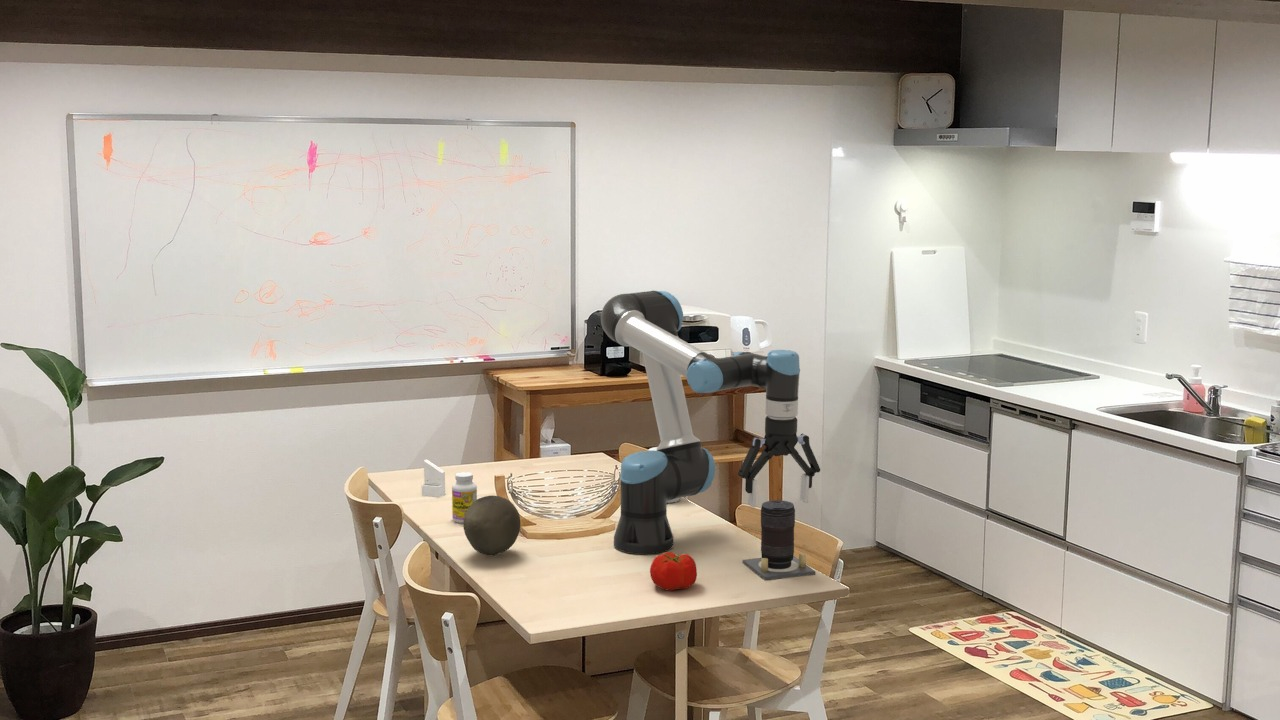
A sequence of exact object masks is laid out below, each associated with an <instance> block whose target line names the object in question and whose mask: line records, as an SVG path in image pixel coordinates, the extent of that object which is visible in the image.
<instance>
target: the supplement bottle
mask: <svg viewBox="0 0 1280 720" xmlns="http://www.w3.org/2000/svg"><path fill="white" fill-rule="evenodd" d="M454 477H455V480H456V481H455V482H454V483H453V484H452V487H451V497H452V498H451V501H452V502H451V504H452V505H451V508H452V511H451V512H452V514H451V515H452V521H454V522H455V523H458V524H459V523H460V524H463V522H464V517H465V514H466V512H467V510H468V508H469V507H470V505H471V504H472V503H473V502H474V501H476V500H477V499H478V486H477V484H476V482H474V481H473V479H474V475H473V473H472V472H470V471H469V472H468V471H463V472H456V474H455V475H454Z"/></svg>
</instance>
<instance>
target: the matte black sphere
mask: <svg viewBox="0 0 1280 720" xmlns="http://www.w3.org/2000/svg"><path fill="white" fill-rule="evenodd" d="M462 524H463V526H462V527H463V531H464V535H465V537H466V540H468V542H469V544H470V546H471V547H472V549H474V550H475V551H476V552H477V553H480V554H481V555H484V556H489V557H490V556H491V557H492V556H498V555H500V554H503V553H505V552H506V551H508V550H509V549H510V548H512V547H513V545H514V544H515V543H516V541H517V539H518V536H519V534H520V530H521V516H520V512H519V510H518V509H517V507H516V506H515V505H514V504H513V502H511V501H510V500H509V499H507V498H505V497H502V496H499V495H486V496H481V497H479V498H477V500H476V501H474V502H473V503H472V504H471V505H470V507H469V508H468V510H467V512H466V514H465V517H464V522H463V523H462Z"/></svg>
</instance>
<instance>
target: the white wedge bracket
mask: <svg viewBox="0 0 1280 720" xmlns="http://www.w3.org/2000/svg"><path fill="white" fill-rule="evenodd" d="M423 476H424V477H423V479H424V480H423V481H424V482H423V484H421V496H422V497H432V498H433V497H434V498H441V497H443V496H445V495H446V471H445V470H443V469H441V468H440V467H439V466H437V465H436V464H434V463H433V462H431V461H430V460H428V459H424V460H423Z"/></svg>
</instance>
